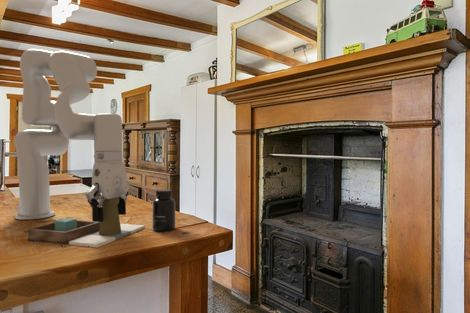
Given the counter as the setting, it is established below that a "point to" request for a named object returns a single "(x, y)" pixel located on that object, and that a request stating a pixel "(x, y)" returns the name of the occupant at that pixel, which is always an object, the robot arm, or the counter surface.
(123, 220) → the counter surface
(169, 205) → the supplement bottle
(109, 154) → the robot arm
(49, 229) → the dice tray
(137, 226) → the board
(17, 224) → the counter surface
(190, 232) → the counter surface
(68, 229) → the teal cube
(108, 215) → the cork
